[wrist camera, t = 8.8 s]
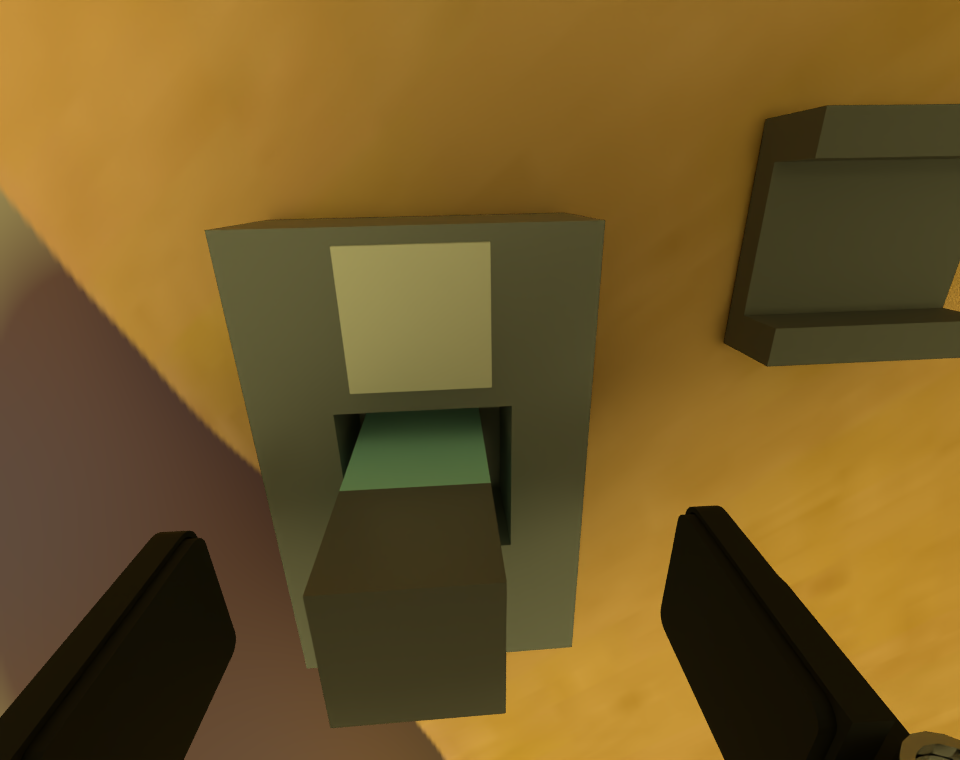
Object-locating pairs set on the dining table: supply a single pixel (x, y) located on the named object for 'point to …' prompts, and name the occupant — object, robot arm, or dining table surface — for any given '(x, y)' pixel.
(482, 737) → the dining table surface
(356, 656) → the plug
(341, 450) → the port panel
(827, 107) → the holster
